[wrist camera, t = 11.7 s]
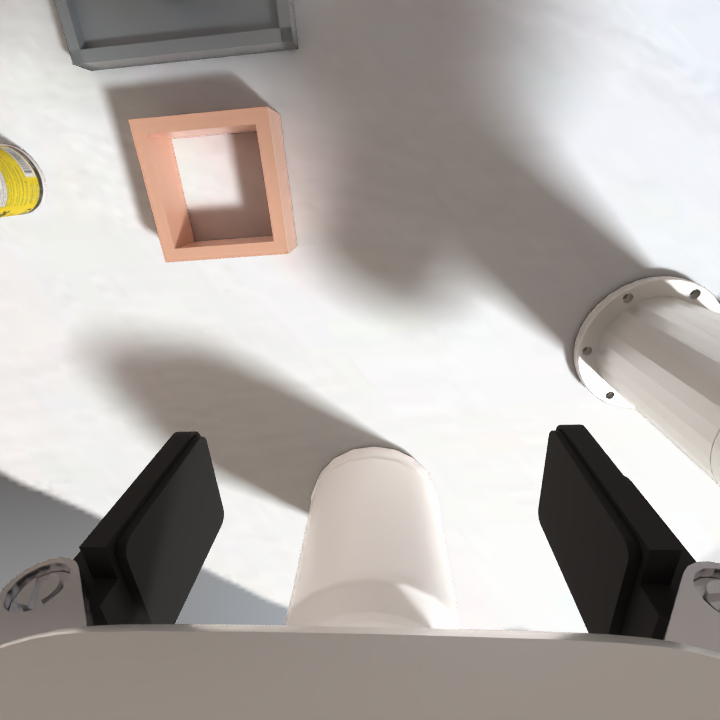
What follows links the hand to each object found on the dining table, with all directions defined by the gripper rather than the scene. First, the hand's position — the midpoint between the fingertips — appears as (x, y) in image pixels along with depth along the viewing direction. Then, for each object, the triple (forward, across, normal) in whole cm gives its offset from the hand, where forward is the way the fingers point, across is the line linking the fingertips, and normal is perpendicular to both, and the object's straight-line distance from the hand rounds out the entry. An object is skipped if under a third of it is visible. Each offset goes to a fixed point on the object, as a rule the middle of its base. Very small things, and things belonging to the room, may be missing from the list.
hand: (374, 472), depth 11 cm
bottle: (+28, +2, +26) cm, 38 cm away
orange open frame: (+28, +12, -7) cm, 31 cm away
